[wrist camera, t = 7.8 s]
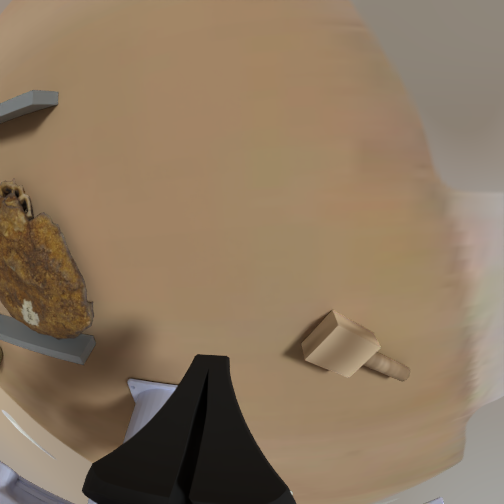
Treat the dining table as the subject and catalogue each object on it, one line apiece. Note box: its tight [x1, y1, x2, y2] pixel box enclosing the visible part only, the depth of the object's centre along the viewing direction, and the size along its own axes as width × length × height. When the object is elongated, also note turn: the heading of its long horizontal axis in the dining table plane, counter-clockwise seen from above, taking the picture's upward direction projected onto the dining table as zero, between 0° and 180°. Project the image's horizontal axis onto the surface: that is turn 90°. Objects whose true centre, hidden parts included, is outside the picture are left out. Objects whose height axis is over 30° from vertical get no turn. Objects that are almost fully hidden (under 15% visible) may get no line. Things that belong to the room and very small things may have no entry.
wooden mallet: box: [301, 310, 410, 381], centre depth 22 cm, size 12×4×2 cm, turn 58°
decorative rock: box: [0, 179, 94, 340], centre depth 18 cm, size 11×4×15 cm
